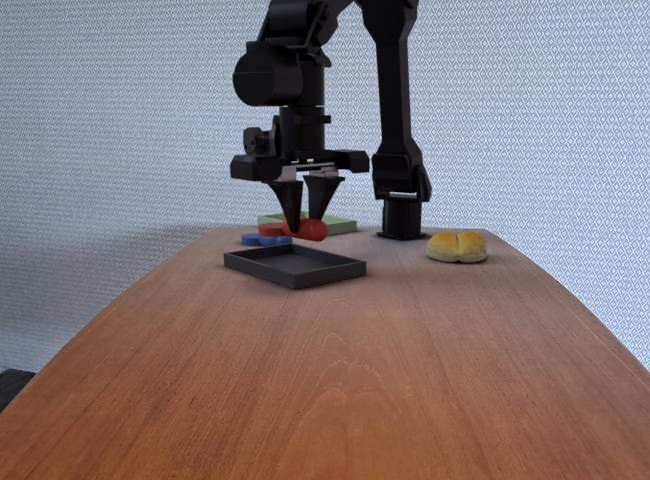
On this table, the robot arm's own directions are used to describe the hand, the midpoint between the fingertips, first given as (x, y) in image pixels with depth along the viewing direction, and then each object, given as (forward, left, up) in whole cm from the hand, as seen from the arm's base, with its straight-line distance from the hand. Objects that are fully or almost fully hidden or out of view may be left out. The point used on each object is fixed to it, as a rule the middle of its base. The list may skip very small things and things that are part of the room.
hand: (304, 231), depth 90 cm
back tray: (+29, -22, -6) cm, 36 cm away
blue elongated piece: (+20, -7, -6) cm, 22 cm away
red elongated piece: (+2, 0, -1) cm, 3 cm away
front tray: (+3, 0, -6) cm, 6 cm away
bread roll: (-6, -24, -6) cm, 25 cm away
